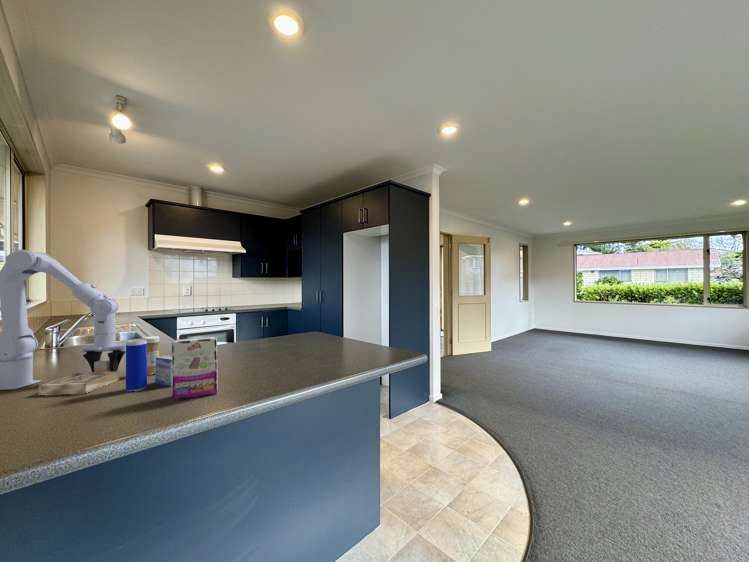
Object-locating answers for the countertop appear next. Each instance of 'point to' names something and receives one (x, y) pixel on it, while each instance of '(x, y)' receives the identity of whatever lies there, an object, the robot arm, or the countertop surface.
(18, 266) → the robot arm
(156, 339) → the sprinkles bottle
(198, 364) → the candy bar box
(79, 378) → the frame
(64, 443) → the countertop surface
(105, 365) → the tan-topped block
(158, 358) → the medicine box
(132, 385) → the beverage can
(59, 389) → the walled box
